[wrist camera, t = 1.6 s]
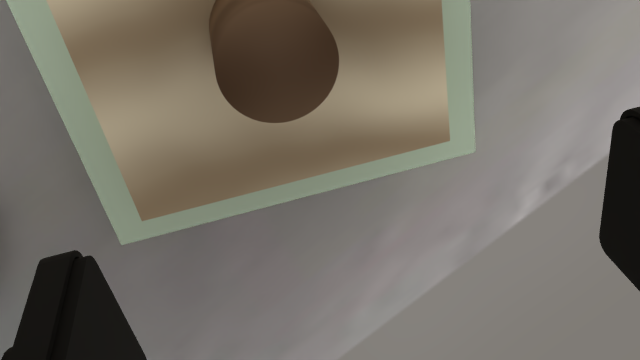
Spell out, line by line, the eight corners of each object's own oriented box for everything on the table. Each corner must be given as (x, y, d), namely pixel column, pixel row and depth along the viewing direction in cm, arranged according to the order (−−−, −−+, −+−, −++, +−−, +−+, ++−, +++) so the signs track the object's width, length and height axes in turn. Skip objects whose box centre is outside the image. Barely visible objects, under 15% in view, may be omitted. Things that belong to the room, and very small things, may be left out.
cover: (443, 132, 27) (488, 188, 23) (142, 210, 26) (136, 283, 22) (418, -233, 20) (479, -242, 16) (-8, -142, 19) (-58, -128, 15)
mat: (466, 142, 29) (475, 152, 28) (123, 232, 28) (121, 245, 27) (448, -294, 20) (459, -299, 19) (-71, -188, 19) (-83, -187, 18)
